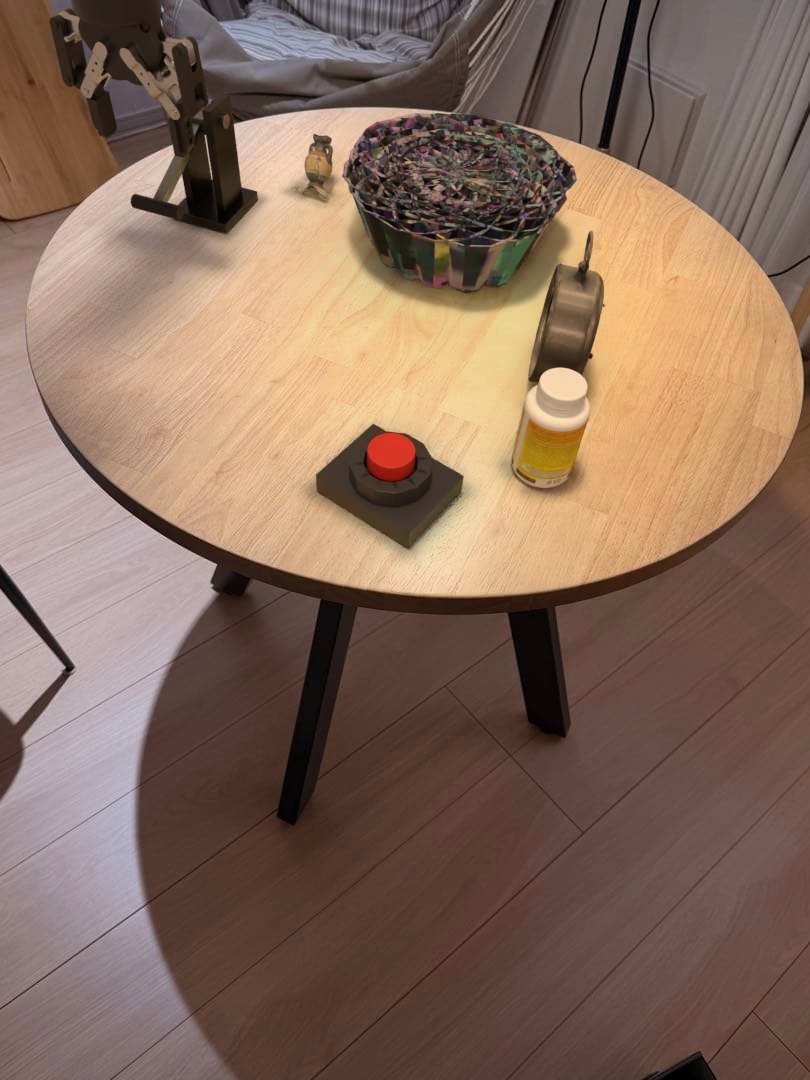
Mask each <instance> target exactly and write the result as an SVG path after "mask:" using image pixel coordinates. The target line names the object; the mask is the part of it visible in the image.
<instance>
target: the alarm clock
mask: <svg viewBox="0 0 810 1080" xmlns="http://www.w3.org/2000/svg"><path fill="white" fill-rule="evenodd" d="M586 237H587V238H586V241H585V242H586V243H585V247H584V252H583V253H584V254H583V260H582V261H580V262H579V263H578V266H577V267H576V266H571V265H567V264H563V263H559V264H557V265H556V266H555V268H554V271H553V274H552V276H551V279H550V282H549V284H548V288H547V293H546V294H545V299H544V303H543V305H542V306H543V307H542V310H541V313H540V314H541V315H540V318H539V322H538V326H537V330H536V333H535V338H534V343H533V346H532V352H531V356H530V362H529V366H528V367H529V368H528V376H527V377H528V378H527V379H528V381H529V382H530V383H534V384H539V380H540V377H541V376H542V374H543V373H544V372H546V371H547V370H549V369H553V368H568V369H571V370H574V371H576V372H578V373H579V374H580V375H582V376H583V373H584V372H585V369H586V367H587V364H588V361H589V360H592V359H593V357H594V354H593V353H592V349H593V346H594V343H595V339H596V335H597V333H598V328H599V325H600V321H601V315H602V312H603V308H605V306H606V304H604V297H605V283H604V279H603V277H602V276H601V274H600V273H598V271H594V270H590V261H591V258H592V253H593V246H594V231H593V230H589V231H588V234H587V236H586Z"/></svg>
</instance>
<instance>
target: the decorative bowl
mask: <svg viewBox="0 0 810 1080" xmlns="http://www.w3.org/2000/svg"><path fill="white" fill-rule="evenodd" d="M341 178H343V180H344V181H345V182H346V183H347V186H348V190H349V194H351V195H352V198H353V201H354V204H355V206H356V208H357V211H358V214H359V217H360V220H361V222H362V225H363V227H364V231H365V233H366V236H367V237H368V239H369V241H370V244H371V246H372V247H373V249H374V250H375V252H377V255H378V257H379V259H380V261H381V262H382V264H383V265H385V266H387V267H389V268H392V269H396V270H397V272H398V273H399V274H400V275H401V277H402V278H403V279H406V280H410V281H420V282H421V284H423V285H425V286H429V287H431V288H435V289H443V288H445V287H447V286H448V288H449V289H452V290H455V291H458V292H460V293H463V294H470V293H474V292H478V291H480V290H481V289H482V288H483V287H484V286H487V287H494V288H495V287H501V286H503V285H505V284H507V282H508V281H509V279H510V278H511V277H512V276H513V275H515V274H517V272H518V270H519V269H520V267H521V266H522V264H523V263H525V262H526V261H527V259H528V257H529V256H530V254H531V253H532V251H533V249H534V248H535V246H536V245H537V243H538V241H539V240H540V238H541V237H542V235H543V234H544V232H545V230H546V229H547V228H548V226H549V224H550V223H552V222H553V221H554V219H555V216H556V214H557V213H559V212H560V211H561V209H562V208H563V206H564V205H565V204H566V203H567V200H568V197H567V191H569V190H571V189H572V187H573V186H574V185H575V183H576V182H577V181H578V179H577V174H576V169H575V166H574V165H573V164H571V163H570V162H569V161H568V160H567V159H566V158H564V157H563V156H562V155H561V154H559V152H558V150H557V149H556V148H554V146H553V145H552V144H551V143H550V142H548V141H547V140H546V139H545V138H544V137H542V136H541V135H539V134H537V133H535V132H533V131H530V130H527V129H524V128H520V127H518V126H517V125H515V124H514V123H513V124H512V123H509V122H506V121H505V122H504V121H500V120H496V119H493V118H490V117H485V116H482V115H479V114H471V113H470V114H469V113H452V112H451V113H442V112H435V113H422V112H421V113H418V112H414V113H409V114H404V115H399V116H395V117H393V118H390V119H384V120H379V121H376V122H374V123H373V124H371V125H370V126H368V127H366V128H365V129H364V131H363V133H362V134H361V136H359V137H358V139H357V140H356V142H355V143H354V145H353V147H352V149H350V150H349V154H348V160H346V161H345V162H344V163H343V169H342V176H341Z"/></svg>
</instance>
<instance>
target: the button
mask: <svg viewBox="0 0 810 1080" xmlns="http://www.w3.org/2000/svg"><path fill="white" fill-rule="evenodd" d="M415 452H416V451H415V446H414V444H413V443H412V442H411V440H409V439H408V438H407V437H405V436H403V435H400V434H396V433H385V434H381V435H378V436H376V437H375V438H374V439H372V440H371V442H370V443H369V445H368V449H367V466H368V469H369V471H370V472H371V473H372V475H374V476H375V477H376V478H378V479H380V480H383V481H389V482H394V481H400V480H403V479H405V478H406V477H408V476H409V475H410V474H411V473H412V471H413V469H414V464H415Z"/></svg>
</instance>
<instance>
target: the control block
mask: <svg viewBox="0 0 810 1080" xmlns="http://www.w3.org/2000/svg"><path fill="white" fill-rule="evenodd" d="M385 433H396V434H400V435H403V436H405V437H407V438H408V439H409V440H411V442H412V443H413V444H414V446H415V451H416V452H415V464H414V469H413V471H412V473H411V474H410V475H409V476H408V477H406V478H405V479H403V480H400V481H394V482H389V481H383V480H380V479H378V478H376V477H375V476H374V475H372V473H371V472H370V471H369V469H368V466H367V449H368V445H369V443H370V442H371V440H372V439H374V438H375V437H376V436H378V435H381V434H385ZM464 477H465V476H464V475H463V474H461V473H460V472H458V471H456V470H454V469H453V468H451V467H449V466H448V465H446V464H444V463H443V462H441V461H439V460H437V459H436V458H434V457H432V455H431V453H430V452H429V450H428V448H427V446H426V445H425V444H424V443H423V442H422V441H420V440H418V439H417V438H415V437H413V436H412V435H410V434H408V433H406V432H398V431H397V432H396V431H389V430H385V429H384V428H382V427H380V426H378V425H376V424H375V423H372V424H370V426H369V427H368V428H366V429H365V430H364V431H363V432H362V433H361V434H360V435H358V437H356V438H355V439H354V440H353V441H352V442H350V444H348V446H346V447H345V448H344V449H343V450H342V451H341V452H340V453H339V454H337V455H336V456H335V457H333V459H332V460H331V461H330V462H328V463H327V464H326V465H325V466H324V467H322V469H320V470H319V472H317V473H316V474H315V483H316V485H315V486H316V492H317V493H319V494H321V495H322V496H324V497H326V499H329V500H330V501H331V502H334V503H335V504H336V505H338V506H340V507H341V508H343V509H345V510H346V511H348V512H349V513H351V514H352V515H354V516H355V517H357V518H359V519H361V520H362V521H364V522H365V523H366V524H368V525H369V526H371V527H373V528H374V529H376V530H378V531H379V532H381V533H382V534H384V535H385V536H387V537H389V538H390V539H392V540H393V541H395V542H397V543H398V544H400V545H401V546H403V547H405V549H409V548H410V547H411V546H412V545H413V543H414V542H415V541H417V539H419V537H420V536H421V535H422V534H423V533H424V532H425V531H426V530H427V529H428V528H429V527H430V526H431V525H432V523H434V522H435V520H436V519H438V517H440V515H442V513H443V512H444V511H445V510H446V508H448V507H449V506H450V504H451V503H453V502H454V500H455V499H456V498H457V497H458V496H459V495H460V494H461V493H462V489H463V482H464Z"/></svg>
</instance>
